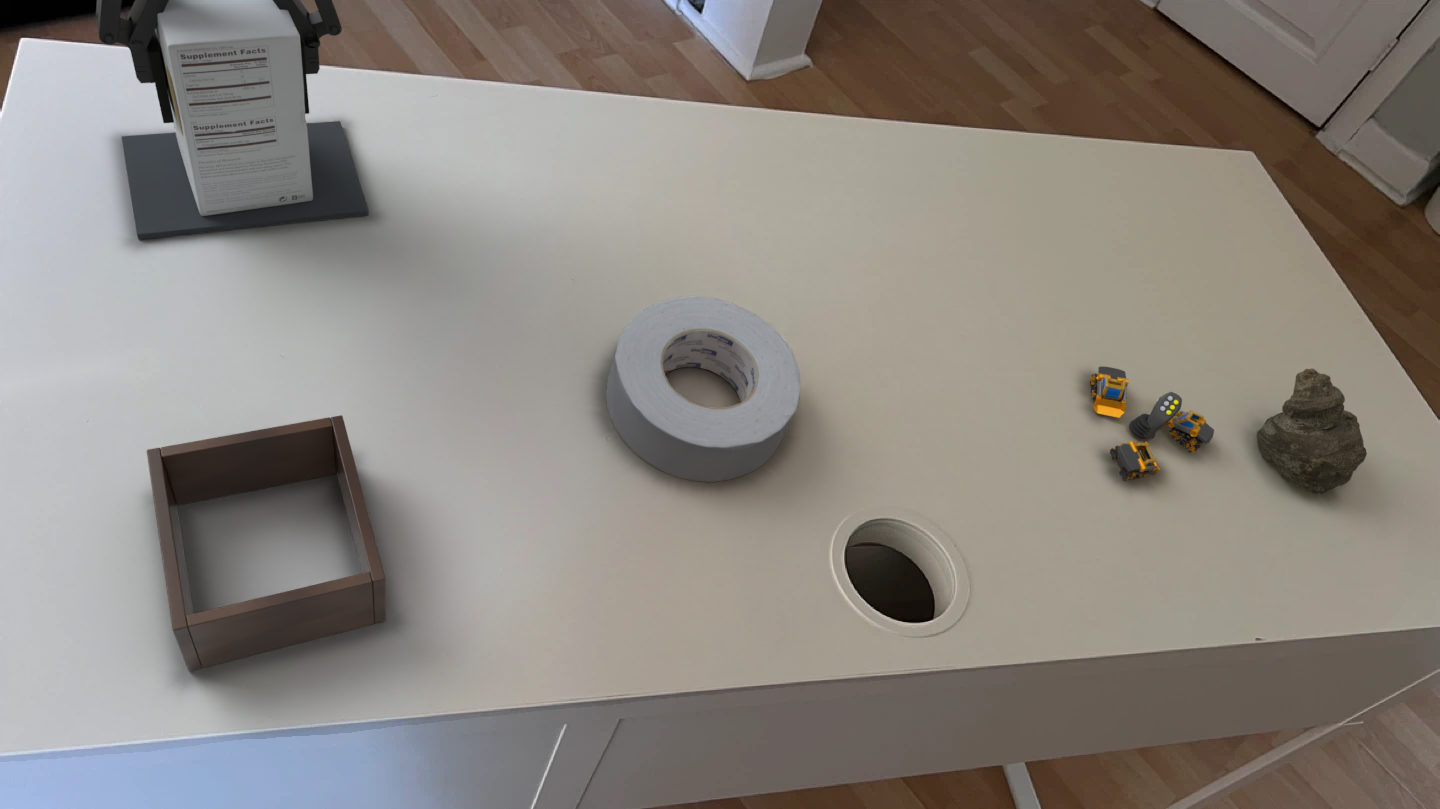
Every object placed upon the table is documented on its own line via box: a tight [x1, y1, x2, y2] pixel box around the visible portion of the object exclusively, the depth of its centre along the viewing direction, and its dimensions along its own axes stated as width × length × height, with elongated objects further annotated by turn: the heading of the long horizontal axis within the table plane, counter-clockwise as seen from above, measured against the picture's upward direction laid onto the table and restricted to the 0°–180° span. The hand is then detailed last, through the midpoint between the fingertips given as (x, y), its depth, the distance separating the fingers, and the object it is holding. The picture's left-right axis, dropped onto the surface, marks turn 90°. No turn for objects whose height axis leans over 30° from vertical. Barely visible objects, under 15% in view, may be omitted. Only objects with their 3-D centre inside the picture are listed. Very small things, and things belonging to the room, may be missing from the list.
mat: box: [120, 120, 370, 240], centre depth 92 cm, size 18×12×1 cm, turn 113°
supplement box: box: [155, 0, 313, 216], centre depth 85 cm, size 10×9×17 cm
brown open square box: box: [146, 414, 387, 672], centre depth 70 cm, size 12×13×6 cm
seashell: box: [1256, 367, 1401, 506], centre depth 98 cm, size 11×12×10 cm
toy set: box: [1089, 365, 1215, 482], centre depth 96 cm, size 12×11×5 cm
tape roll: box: [605, 295, 802, 483], centre depth 87 cm, size 15×15×5 cm
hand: (235, 107), depth 86 cm, fingers closed on supplement box, 9 cm apart
